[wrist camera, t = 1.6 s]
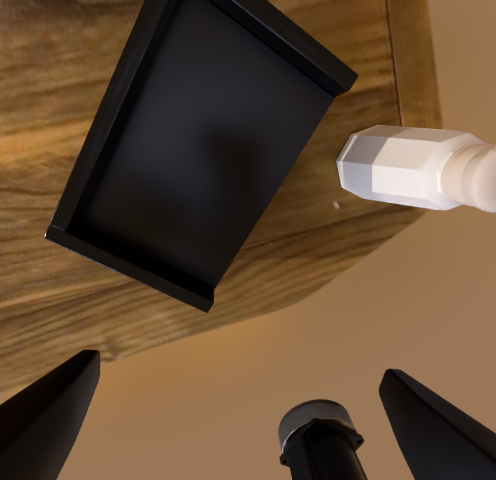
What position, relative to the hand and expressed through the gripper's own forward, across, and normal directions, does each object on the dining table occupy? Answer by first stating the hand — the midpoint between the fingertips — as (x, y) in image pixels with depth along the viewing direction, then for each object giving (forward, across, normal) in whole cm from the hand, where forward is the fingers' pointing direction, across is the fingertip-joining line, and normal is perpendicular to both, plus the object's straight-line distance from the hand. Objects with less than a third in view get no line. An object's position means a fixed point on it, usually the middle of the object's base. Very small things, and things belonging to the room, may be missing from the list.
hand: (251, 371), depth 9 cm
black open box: (+14, +3, -6) cm, 16 cm away
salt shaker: (+14, -10, -7) cm, 19 cm away
